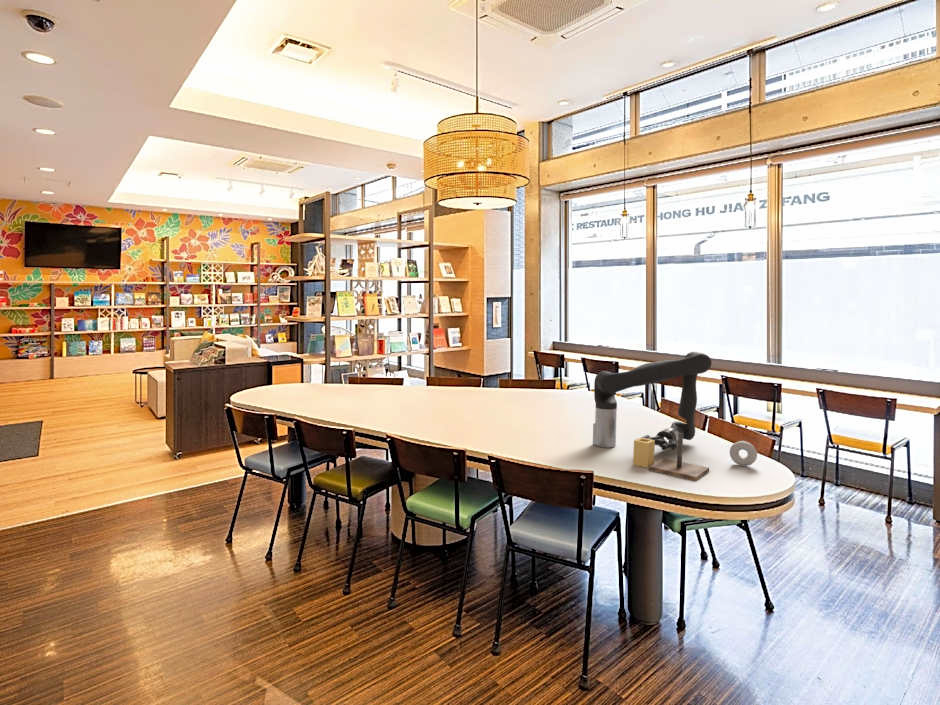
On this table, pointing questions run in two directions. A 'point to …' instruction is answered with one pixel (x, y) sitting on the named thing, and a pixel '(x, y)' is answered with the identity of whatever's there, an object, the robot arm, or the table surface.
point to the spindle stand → (679, 465)
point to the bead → (643, 452)
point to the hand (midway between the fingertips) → (652, 445)
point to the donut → (747, 447)
